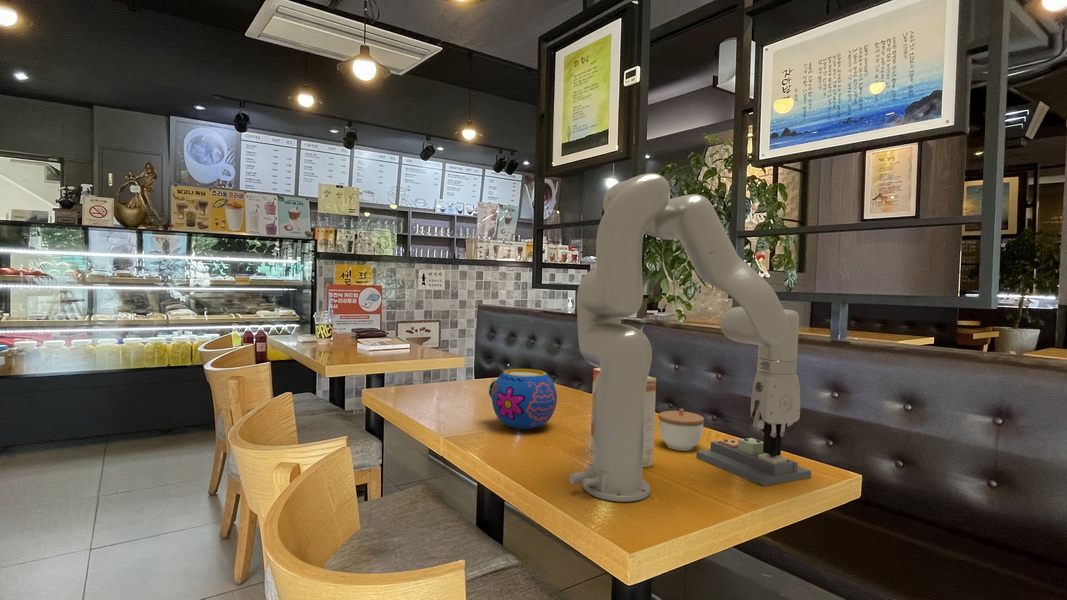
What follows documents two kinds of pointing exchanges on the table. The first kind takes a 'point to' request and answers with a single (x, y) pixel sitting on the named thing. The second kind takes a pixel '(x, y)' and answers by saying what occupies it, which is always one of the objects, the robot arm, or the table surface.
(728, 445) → the tile three
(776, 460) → the tile one
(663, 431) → the lidded jar
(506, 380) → the ceramic pot
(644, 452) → the coffeecake box
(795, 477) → the board
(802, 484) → the table surface
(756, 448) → the tile two
